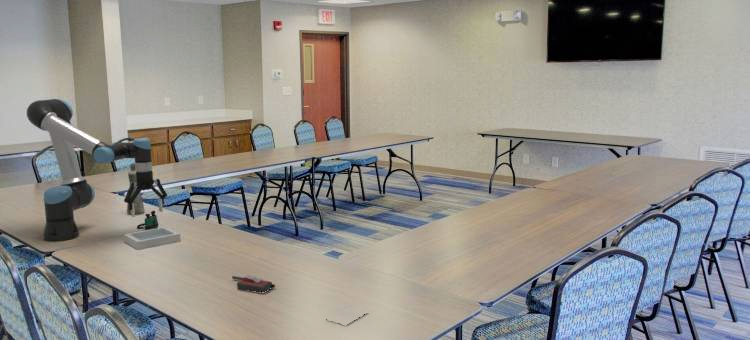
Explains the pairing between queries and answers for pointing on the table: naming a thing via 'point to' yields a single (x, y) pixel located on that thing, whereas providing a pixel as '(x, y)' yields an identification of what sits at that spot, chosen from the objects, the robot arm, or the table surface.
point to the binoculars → (149, 222)
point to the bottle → (138, 200)
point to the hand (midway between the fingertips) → (147, 214)
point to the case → (151, 237)
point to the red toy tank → (253, 284)
